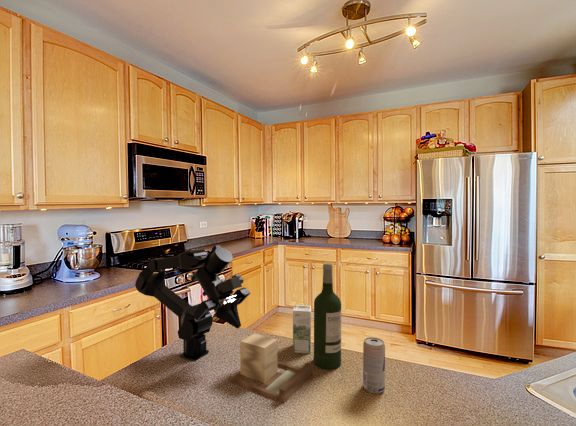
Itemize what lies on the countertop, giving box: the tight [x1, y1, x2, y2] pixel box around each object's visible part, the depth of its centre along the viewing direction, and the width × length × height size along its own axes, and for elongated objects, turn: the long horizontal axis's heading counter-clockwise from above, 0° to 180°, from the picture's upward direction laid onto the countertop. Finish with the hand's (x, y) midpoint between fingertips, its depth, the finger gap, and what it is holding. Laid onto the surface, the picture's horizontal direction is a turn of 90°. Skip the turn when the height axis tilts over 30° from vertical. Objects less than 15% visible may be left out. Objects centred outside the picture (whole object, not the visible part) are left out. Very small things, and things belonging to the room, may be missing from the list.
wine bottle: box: [313, 262, 342, 371], centre depth 87 cm, size 8×8×30 cm
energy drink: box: [362, 336, 386, 394], centre depth 77 cm, size 5×5×12 cm
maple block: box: [239, 332, 278, 383], centre depth 81 cm, size 8×6×9 cm
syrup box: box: [292, 304, 312, 354], centre depth 96 cm, size 6×6×14 cm
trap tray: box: [226, 360, 313, 404], centre depth 79 cm, size 18×14×4 cm
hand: (239, 327), depth 85 cm, fingers closed
